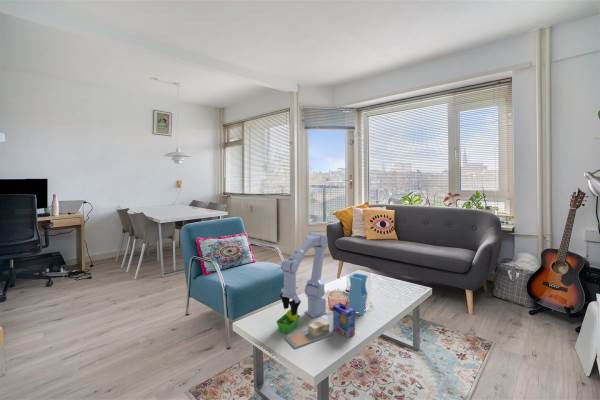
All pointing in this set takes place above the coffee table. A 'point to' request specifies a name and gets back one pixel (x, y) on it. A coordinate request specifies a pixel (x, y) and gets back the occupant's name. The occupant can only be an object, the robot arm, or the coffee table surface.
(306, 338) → the mat
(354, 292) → the vase
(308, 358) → the coffee table surface
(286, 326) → the fruit basket
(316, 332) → the tan rectangular block
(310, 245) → the robot arm
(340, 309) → the ink cartridge box
